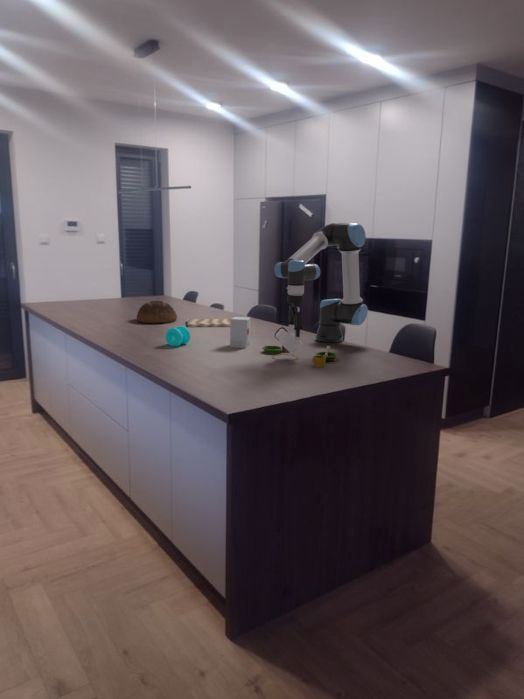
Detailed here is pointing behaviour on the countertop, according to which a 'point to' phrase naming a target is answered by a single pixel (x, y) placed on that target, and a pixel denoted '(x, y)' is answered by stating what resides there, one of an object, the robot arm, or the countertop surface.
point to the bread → (156, 313)
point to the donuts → (177, 336)
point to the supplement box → (240, 332)
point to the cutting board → (208, 322)
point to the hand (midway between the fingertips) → (293, 340)
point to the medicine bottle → (287, 340)
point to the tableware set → (317, 360)
